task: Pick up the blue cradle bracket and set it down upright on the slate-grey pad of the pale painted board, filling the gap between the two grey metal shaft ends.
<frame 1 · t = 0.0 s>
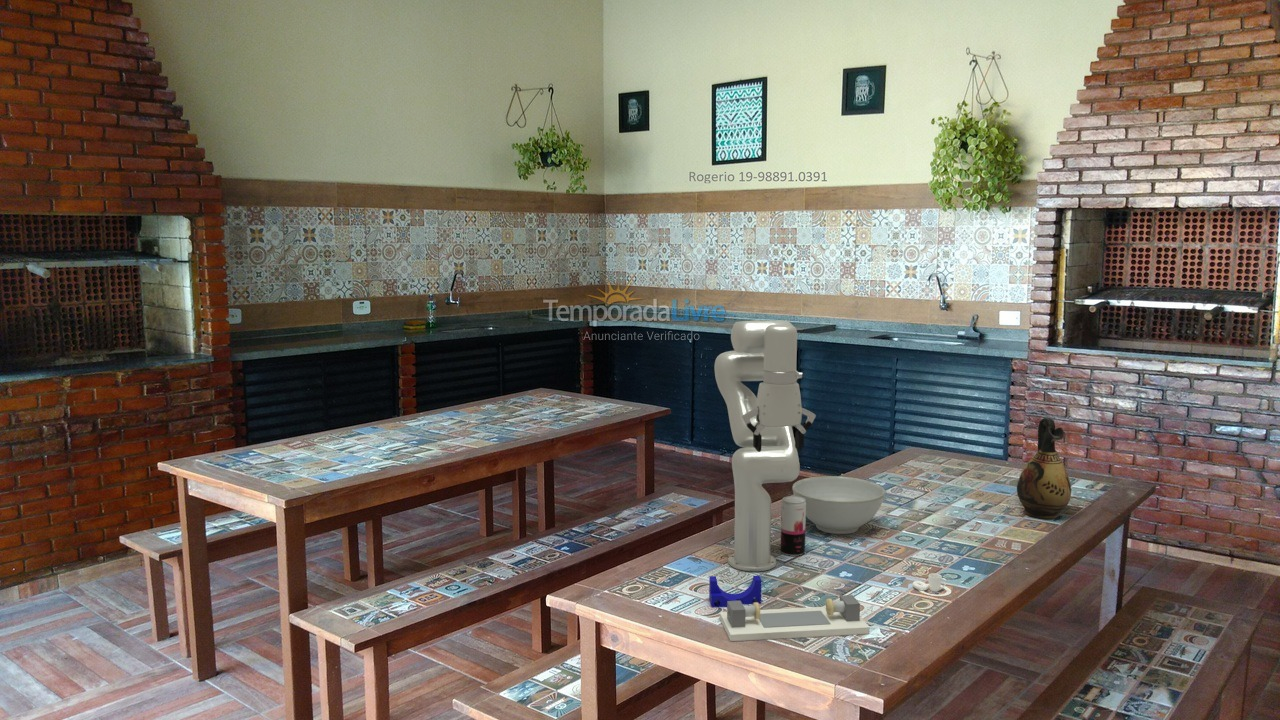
hand: (778, 449, 218), 37 cm above the table, tool pointing down, fingers open, 9 cm apart
ceramic jug: (1041, 514, 289), on the table
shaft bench: (792, 625, 209), on the table
teacup and saucer: (928, 587, 232), on the table
decorative bowl: (837, 528, 276), on the table
beverage can: (792, 553, 255), on the table
blue cradle bracket: (735, 604, 222), on the table
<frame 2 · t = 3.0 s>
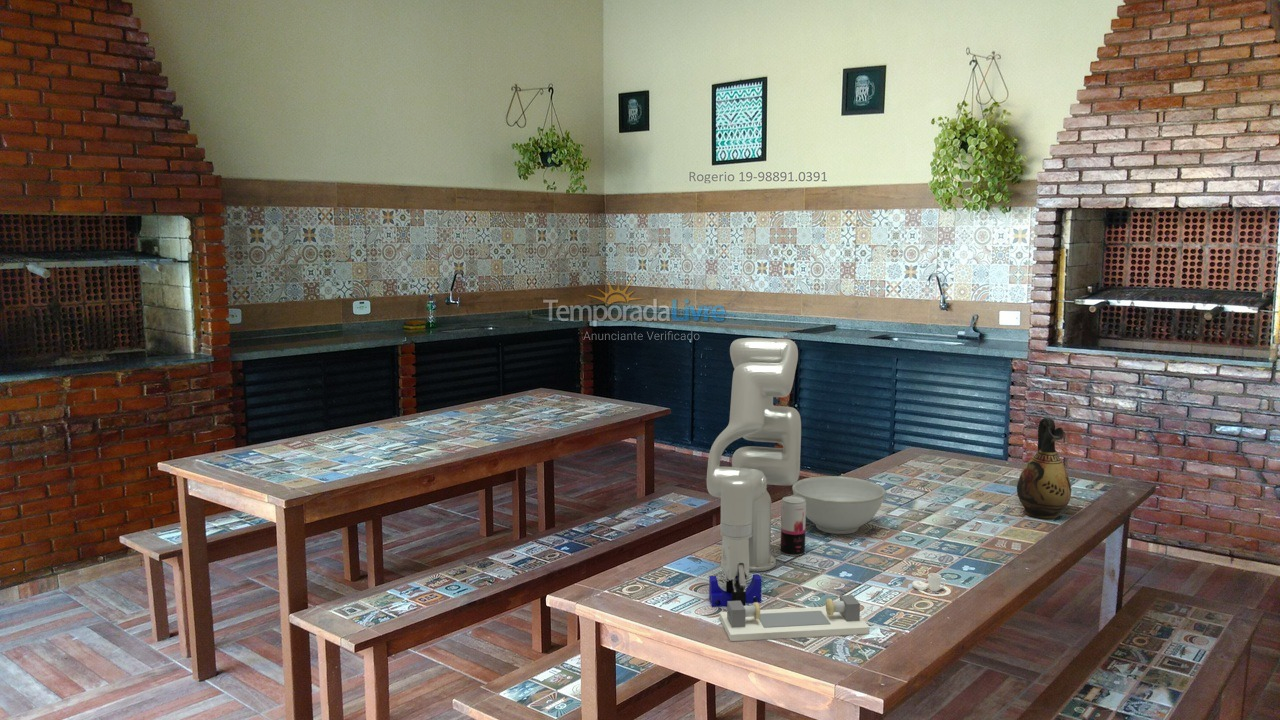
hand: (735, 601, 221), 0 cm above the table, tool pointing down, fingers open, 5 cm apart
blue cradle bracket: (735, 603, 222), on the table, touching gripper
everything else where it was.
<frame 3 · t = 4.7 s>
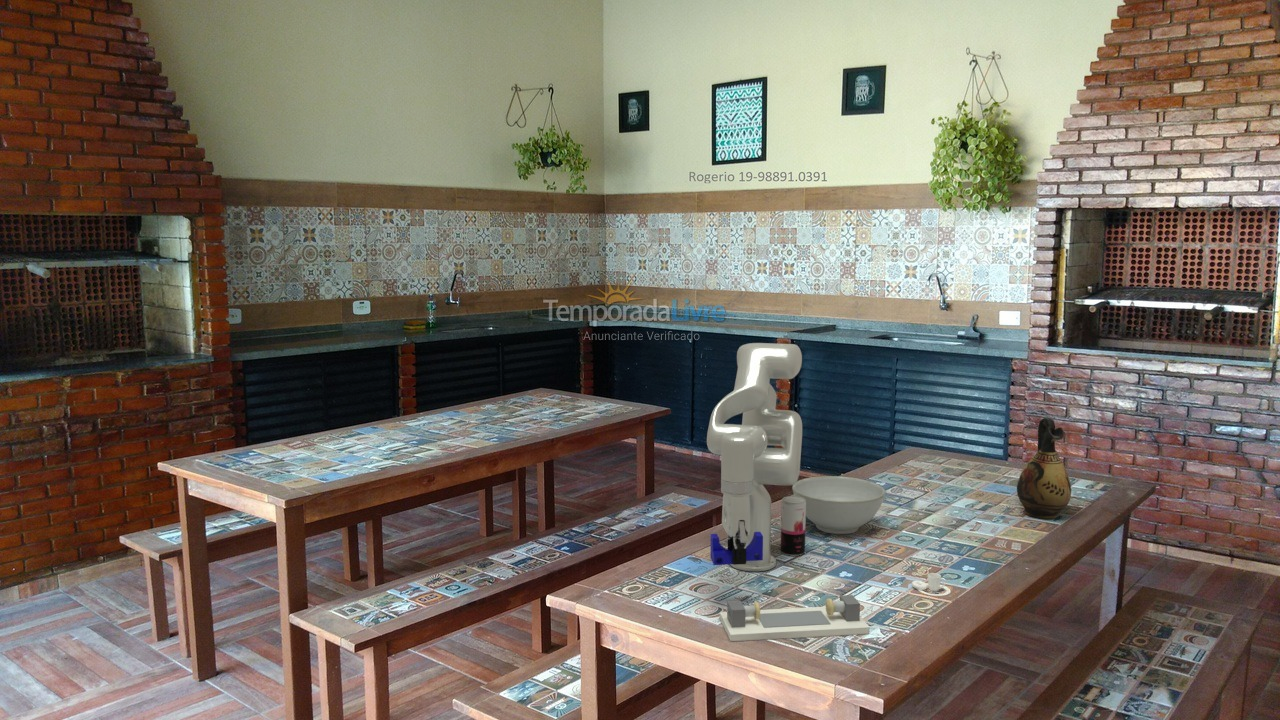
hand: (736, 558, 221), 11 cm above the table, tool pointing down, fingers closed on blue cradle bracket, 4 cm apart
blue cradle bracket: (737, 561, 221), point 10 cm above the table, touching gripper
everything else where it was.
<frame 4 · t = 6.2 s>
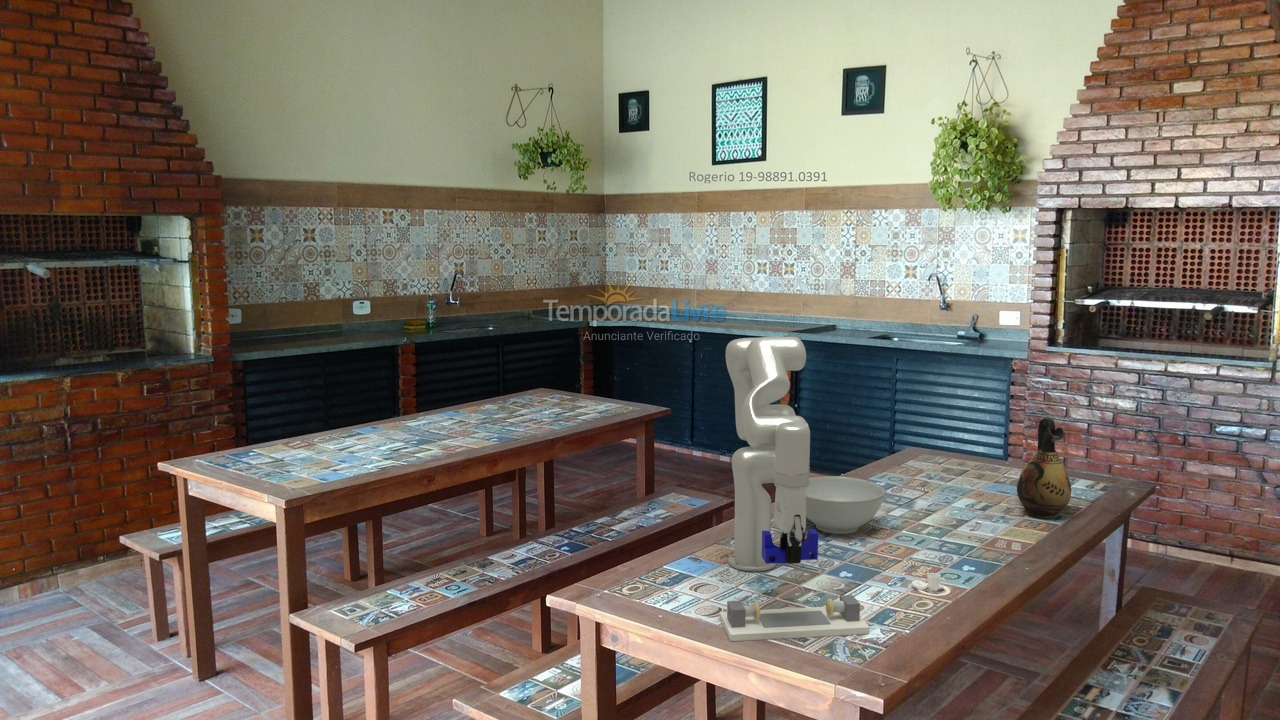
hand: (790, 557, 207), 16 cm above the table, tool pointing down, fingers closed on blue cradle bracket, 4 cm apart
blue cradle bracket: (790, 560, 207), point 15 cm above the table, touching gripper
everything else where it was.
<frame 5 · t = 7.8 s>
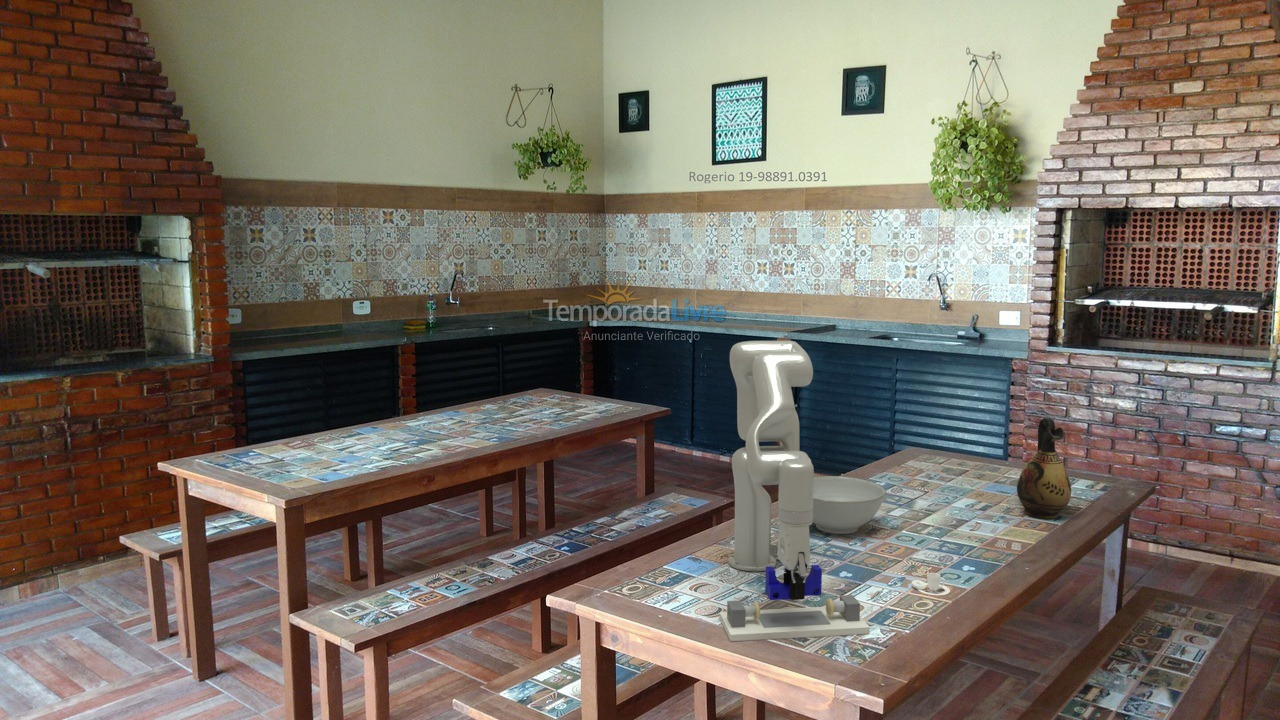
hand: (793, 593, 207), 8 cm above the table, tool pointing down, fingers closed on blue cradle bracket, 4 cm apart
blue cradle bracket: (793, 595, 207), point 7 cm above the table, touching gripper
everything else where it was.
when the fingers open (3 cm above the table, at t = 9.0 s): blue cradle bracket drops 1 cm, resting on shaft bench.
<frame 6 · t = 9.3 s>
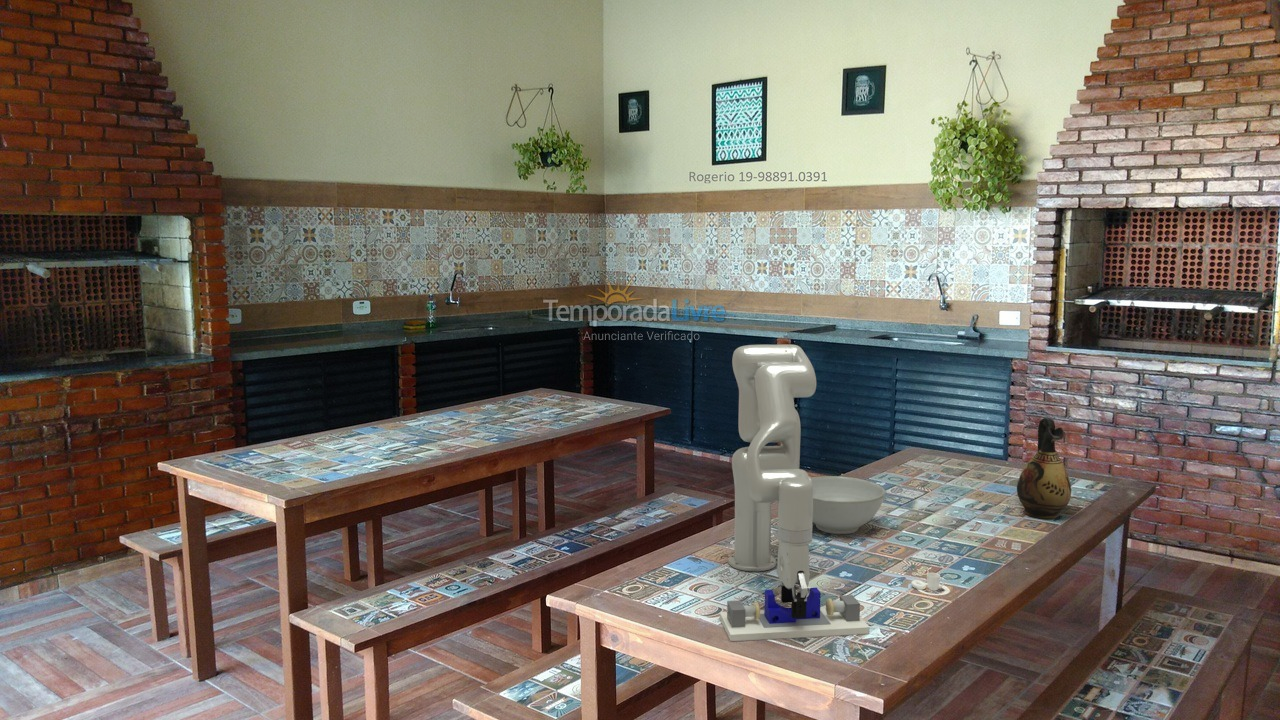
hand: (793, 609, 208), 4 cm above the table, tool pointing down, fingers open, 7 cm apart
blue cradle bracket: (792, 618, 209), point 1 cm above the table, touching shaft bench
everything else where it was.
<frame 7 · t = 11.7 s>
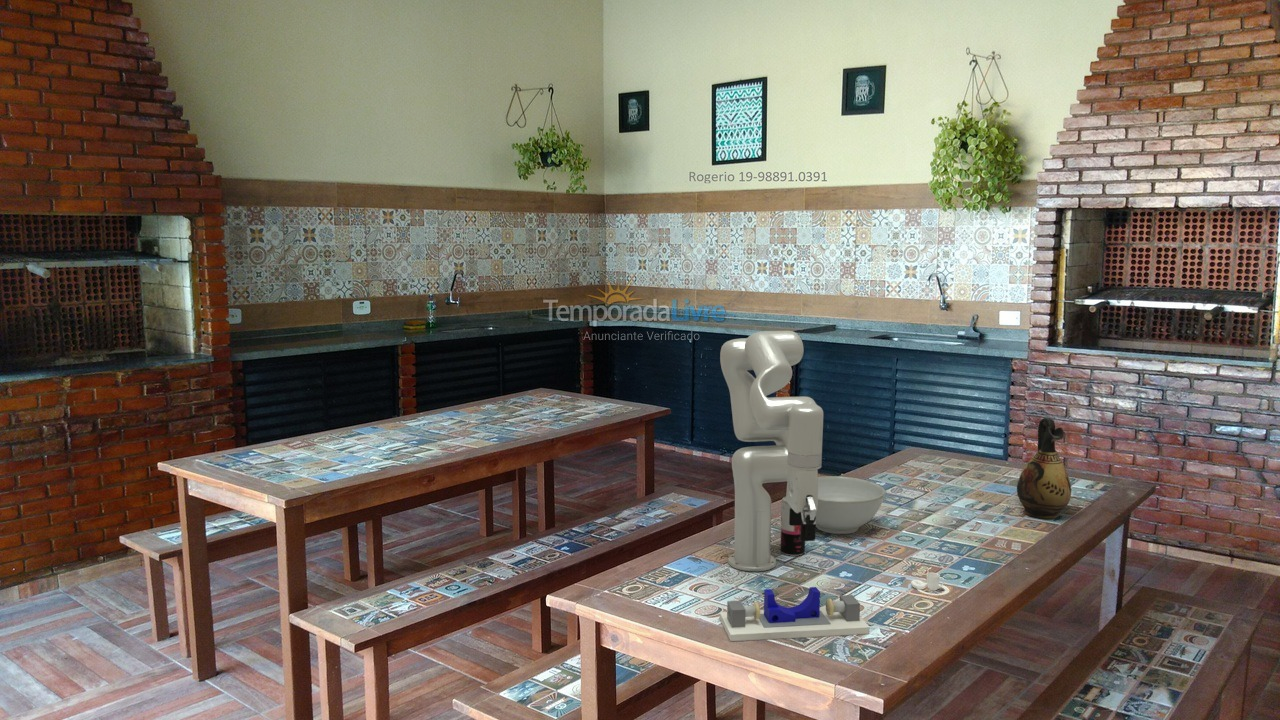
hand: (801, 532, 210), 20 cm above the table, tool pointing down, fingers open, 9 cm apart
nothing on the table moved.
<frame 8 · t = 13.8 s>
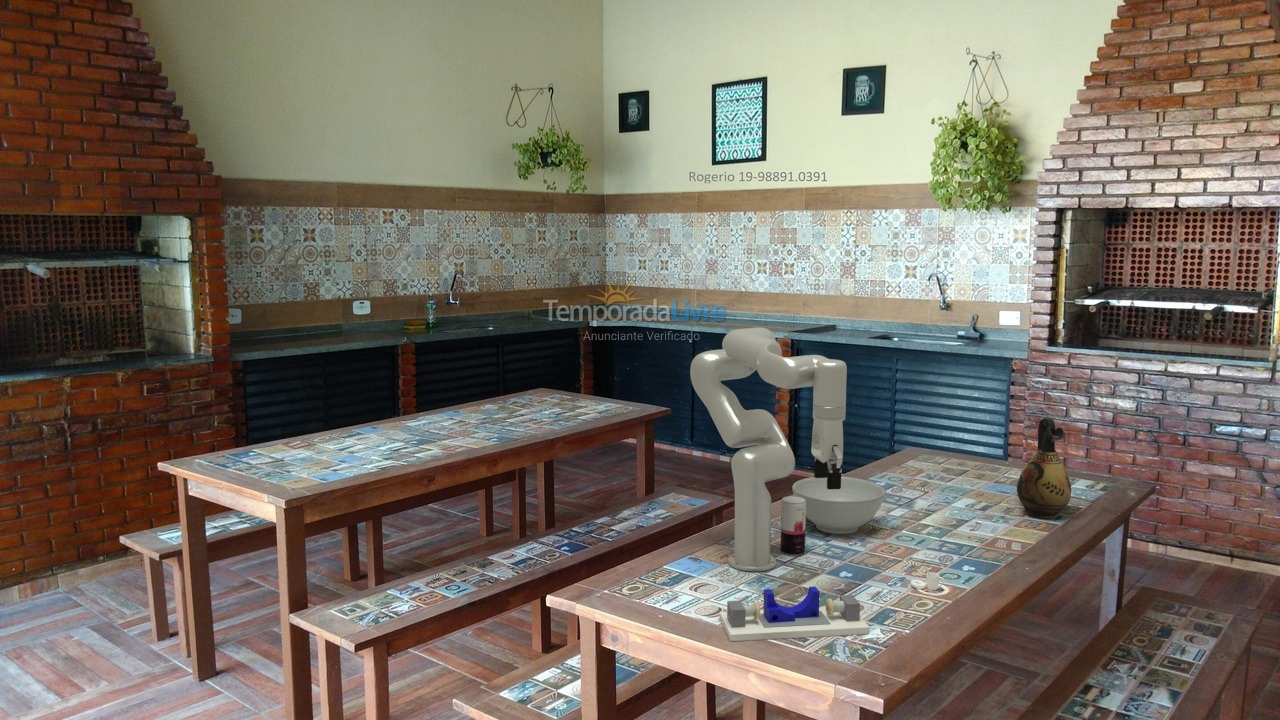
hand: (827, 483, 221), 28 cm above the table, tool pointing down, fingers open, 9 cm apart
nothing on the table moved.
at the end: blue cradle bracket 0.8 cm off-centre on the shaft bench, point 1.5 cm above the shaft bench's base; blue cradle bracket tilted 0°; the gripper is holding nothing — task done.
